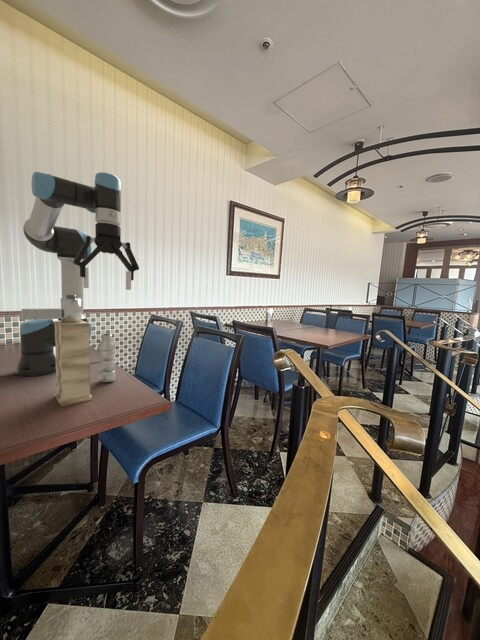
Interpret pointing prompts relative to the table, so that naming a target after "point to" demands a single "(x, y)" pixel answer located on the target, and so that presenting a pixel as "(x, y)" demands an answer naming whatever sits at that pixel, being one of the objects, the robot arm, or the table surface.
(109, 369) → the plastic bottle
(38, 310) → the grey round-headed handle
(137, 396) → the table surface
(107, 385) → the table surface
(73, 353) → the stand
